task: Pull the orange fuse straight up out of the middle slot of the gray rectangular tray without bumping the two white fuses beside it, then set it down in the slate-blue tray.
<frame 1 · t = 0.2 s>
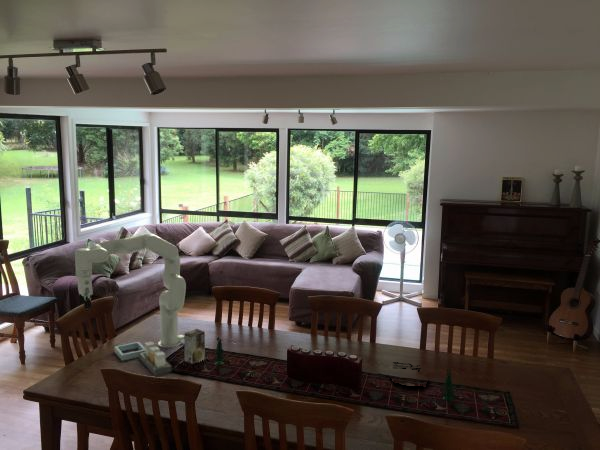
hand: (85, 305, 256), 31 cm above the table, tool pointing down, fingers open, 9 cm apart
cutlery set: (408, 376, 258), on the table
coffee box: (194, 361, 267), on the table
back fuse: (149, 359, 265), point 1 cm above the table, touching gray rectangular tray
orange fuse: (154, 364, 259), point 1 cm above the table, touching gray rectangular tray
gray rectangular tray: (154, 366, 259), on the table
front fuse: (160, 370, 253), point 1 cm above the table, touching gray rectangular tray
slate tray: (130, 355, 272), on the table
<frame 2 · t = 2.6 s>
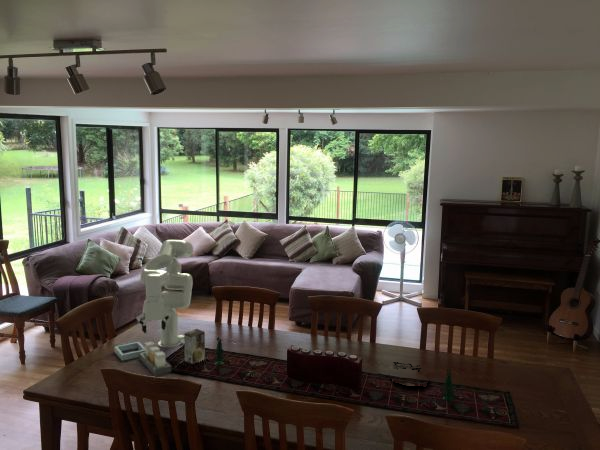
hand: (154, 330, 255), 20 cm above the table, tool pointing down, fingers open, 9 cm apart
nothing on the table moved.
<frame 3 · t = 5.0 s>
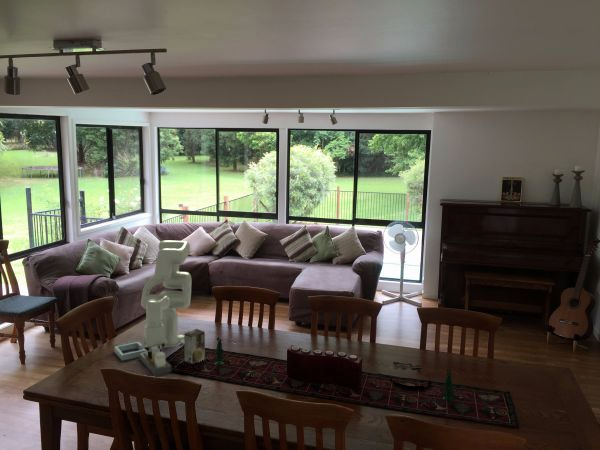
hand: (154, 357, 258), 5 cm above the table, tool pointing down, fingers closed on orange fuse, 4 cm apart
orange fuse: (154, 364, 259), point 1 cm above the table, touching gray rectangular tray, gripper
everything else where it was.
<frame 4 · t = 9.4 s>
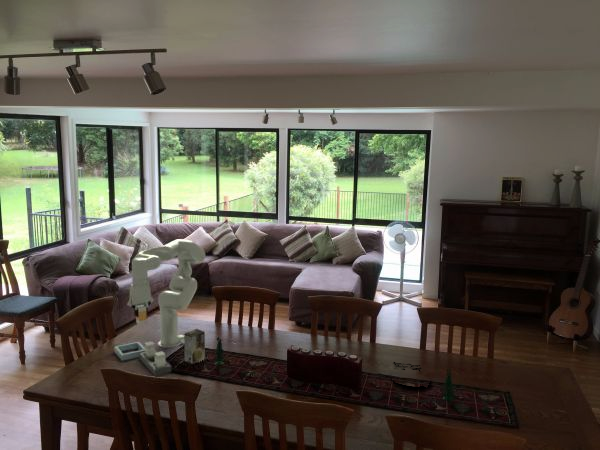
hand: (141, 315, 262), 25 cm above the table, tool pointing down, fingers closed on orange fuse, 4 cm apart
orange fuse: (141, 322, 263), point 21 cm above the table, touching gripper
everything else where it was.
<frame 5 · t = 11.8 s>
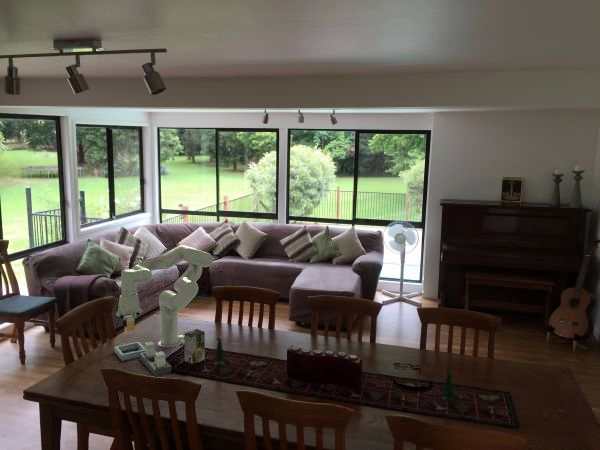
hand: (129, 325, 269), 17 cm above the table, tool pointing down, fingers closed on orange fuse, 4 cm apart
orange fuse: (129, 332, 270), point 13 cm above the table, touching gripper
everything else where it was.
when the fingers open (7 cm above the table, at t = 14.0 s): orange fuse drops 2 cm, resting on slate tray.
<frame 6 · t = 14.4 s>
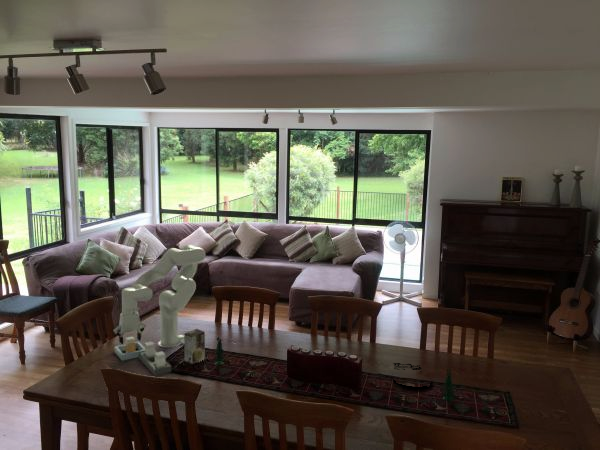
hand: (130, 341, 271), 8 cm above the table, tool pointing down, fingers open, 8 cm apart
orange fuse: (130, 354, 272), point 1 cm above the table, touching slate tray
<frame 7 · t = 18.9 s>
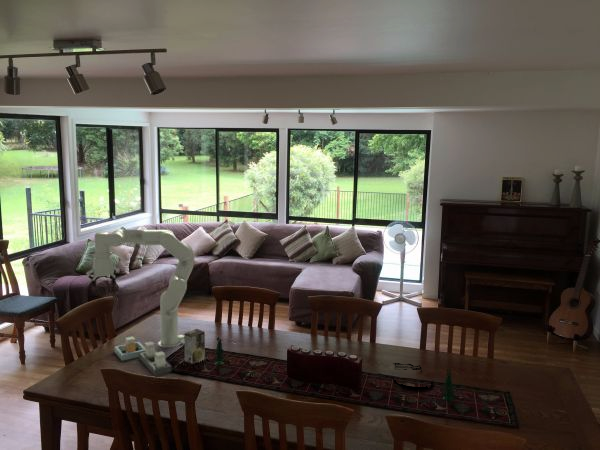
hand: (103, 285, 273), 36 cm above the table, tool pointing down, fingers open, 9 cm apart
at the end: orange fuse inside the target area on the slate tray (0.0 cm from its centre), point 0.6 cm above the slate tray's base; back fuse moved 0.0 cm from its start; front fuse moved 0.0 cm from its start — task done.
